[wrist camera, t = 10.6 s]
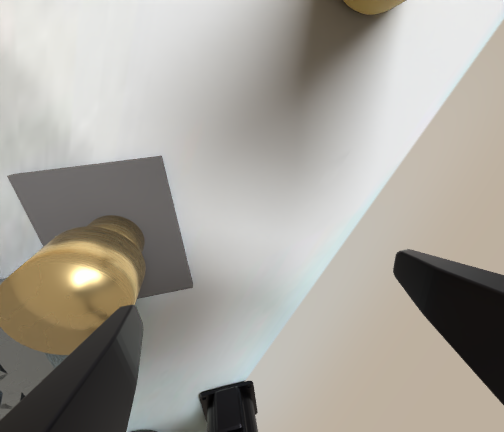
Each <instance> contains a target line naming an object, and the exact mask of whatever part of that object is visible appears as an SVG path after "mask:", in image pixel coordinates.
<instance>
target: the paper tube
mask: <svg viewBox="0 0 504 432" xmlns="http://www.w3.org/2000/svg"><path fill="white" fill-rule="evenodd" d="M343 1H344V2H345V3H346V4H347V5H348V6H349V7H350V8H352V9H353V10H355V11H357V12H359V13H362V14H368V15H374V14H379V13H383V12H386V11H388V10H390V9H392V8H394V7H395V6H397V5H399V4H401V3H402V2H404V1H406V0H343Z"/></svg>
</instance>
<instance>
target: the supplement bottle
mask: <svg viewBox="0 0 504 432" xmlns="http://www.w3.org/2000/svg"><path fill="white" fill-rule="evenodd" d="M134 432H157V431H153V430H139V431H134Z"/></svg>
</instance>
